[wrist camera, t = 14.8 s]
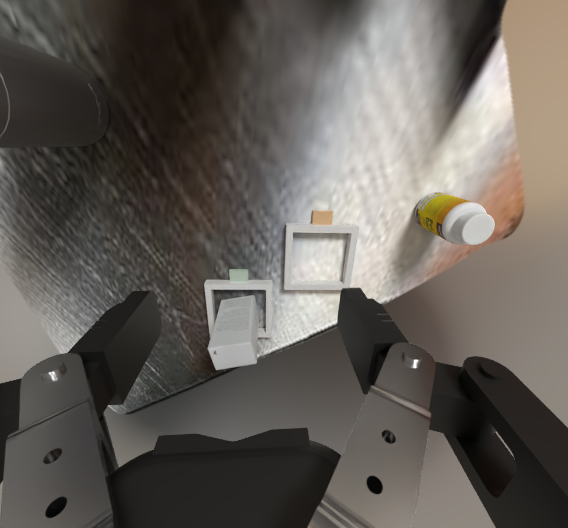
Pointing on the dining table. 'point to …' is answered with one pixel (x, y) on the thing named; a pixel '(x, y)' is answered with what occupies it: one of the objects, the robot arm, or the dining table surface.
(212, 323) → the frame
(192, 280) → the dining table surface
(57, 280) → the dining table surface
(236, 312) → the skincare box
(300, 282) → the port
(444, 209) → the supplement bottle
